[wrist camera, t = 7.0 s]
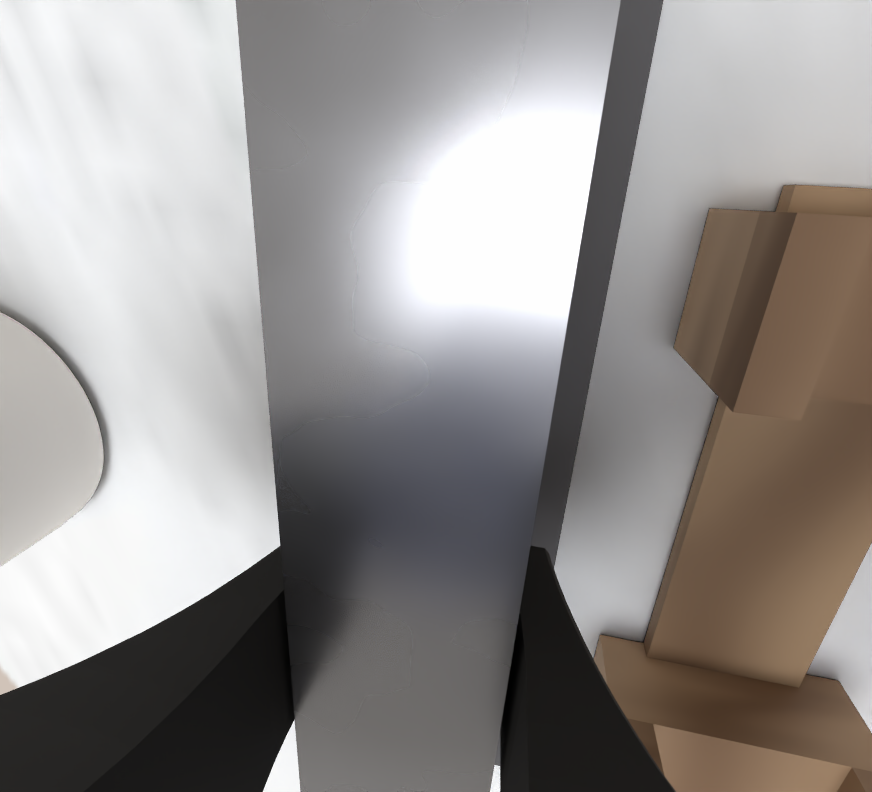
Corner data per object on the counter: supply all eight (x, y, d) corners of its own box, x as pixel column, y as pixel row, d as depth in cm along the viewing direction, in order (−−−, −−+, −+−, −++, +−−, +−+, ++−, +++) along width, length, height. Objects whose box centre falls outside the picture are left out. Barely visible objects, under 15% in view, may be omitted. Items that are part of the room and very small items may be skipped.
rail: (594, 11, 7) (645, -151, 4) (472, 827, 15) (455, 1003, 11) (358, 10, 7) (224, -133, 4) (360, 798, 15) (314, 958, 12)
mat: (660, -2, 9) (665, -11, 9) (515, 757, 17) (514, 769, 17) (349, -2, 10) (341, -10, 9) (355, 719, 18) (352, 729, 18)
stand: (1098, 202, 9) (1446, 204, 5) (795, 759, 15) (871, 922, 12) (716, 181, 10) (809, 172, 6) (580, 712, 16) (591, 849, 13)
